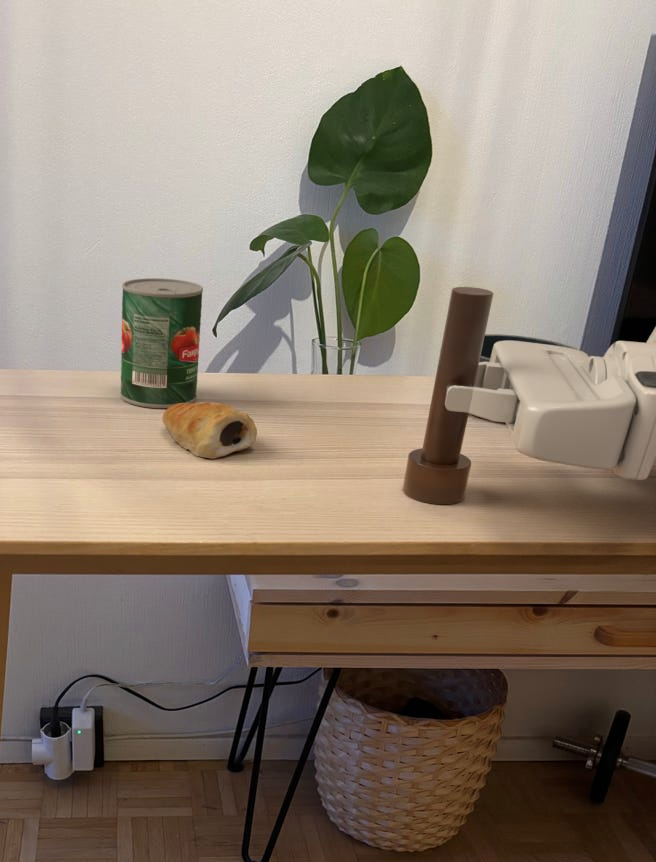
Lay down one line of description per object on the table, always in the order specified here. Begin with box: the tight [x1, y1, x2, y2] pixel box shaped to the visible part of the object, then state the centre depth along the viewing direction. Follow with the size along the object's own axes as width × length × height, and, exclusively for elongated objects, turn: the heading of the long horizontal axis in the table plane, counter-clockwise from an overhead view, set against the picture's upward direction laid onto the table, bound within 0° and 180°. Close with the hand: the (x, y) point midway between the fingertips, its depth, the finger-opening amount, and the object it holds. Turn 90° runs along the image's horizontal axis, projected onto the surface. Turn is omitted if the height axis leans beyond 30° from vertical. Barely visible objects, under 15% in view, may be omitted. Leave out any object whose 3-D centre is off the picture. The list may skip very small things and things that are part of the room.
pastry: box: [161, 401, 258, 460], centre depth 86 cm, size 9×7×4 cm
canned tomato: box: [119, 277, 204, 409], centre depth 96 cm, size 8×8×11 cm
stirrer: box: [402, 286, 494, 505], centre depth 75 cm, size 5×5×16 cm
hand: (442, 385), depth 74 cm, fingers open, 4 cm apart
